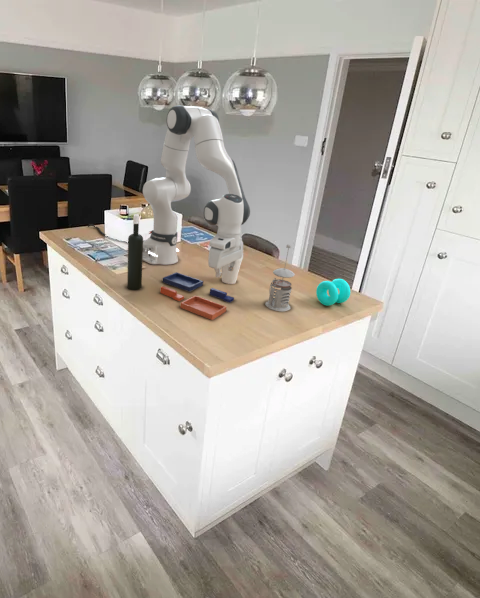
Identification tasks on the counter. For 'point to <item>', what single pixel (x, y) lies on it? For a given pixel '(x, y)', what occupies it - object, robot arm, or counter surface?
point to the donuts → (333, 292)
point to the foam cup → (231, 272)
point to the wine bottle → (135, 257)
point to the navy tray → (182, 281)
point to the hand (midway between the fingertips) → (224, 273)
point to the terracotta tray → (203, 307)
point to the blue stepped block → (221, 295)
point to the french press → (283, 294)
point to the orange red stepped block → (171, 293)
